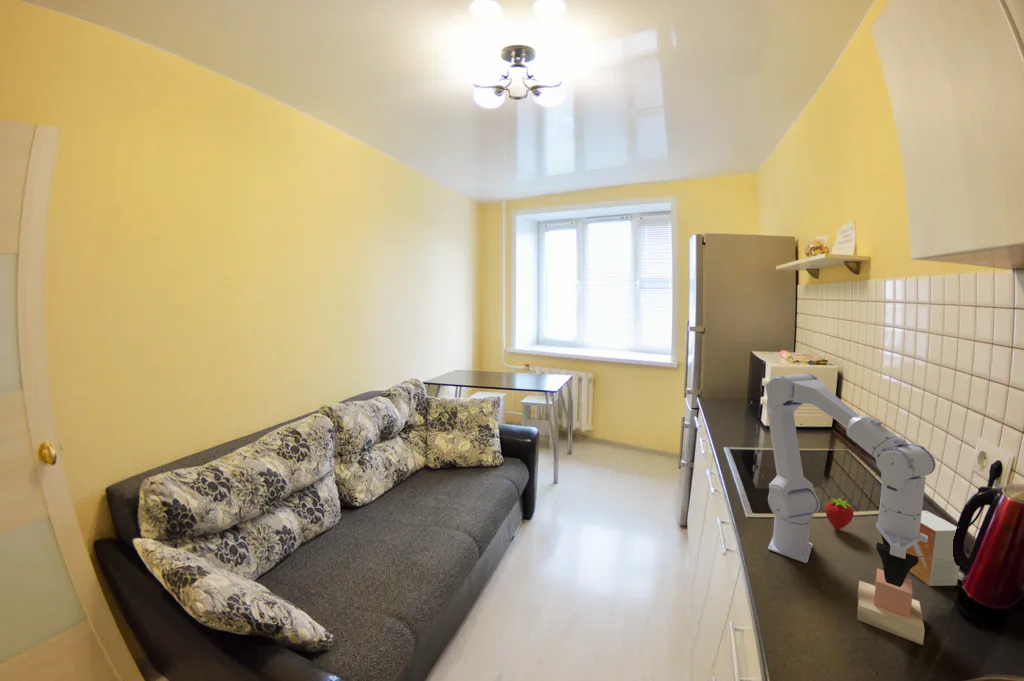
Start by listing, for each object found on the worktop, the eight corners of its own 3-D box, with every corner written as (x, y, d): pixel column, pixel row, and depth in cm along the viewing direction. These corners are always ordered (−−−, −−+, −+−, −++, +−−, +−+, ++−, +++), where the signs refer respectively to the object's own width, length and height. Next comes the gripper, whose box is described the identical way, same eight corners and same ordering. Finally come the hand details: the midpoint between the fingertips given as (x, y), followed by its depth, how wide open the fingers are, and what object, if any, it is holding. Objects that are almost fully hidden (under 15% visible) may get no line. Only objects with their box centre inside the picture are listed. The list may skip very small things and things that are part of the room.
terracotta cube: (874, 590, 82) (877, 568, 81) (908, 603, 79) (911, 580, 78) (873, 604, 78) (876, 581, 78) (909, 618, 75) (912, 594, 74)
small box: (893, 561, 95) (899, 510, 93) (920, 561, 95) (926, 509, 93) (928, 586, 87) (935, 530, 85) (958, 586, 87) (965, 530, 85)
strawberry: (853, 528, 108) (856, 493, 107) (849, 541, 103) (853, 504, 102) (826, 520, 112) (829, 486, 111) (821, 531, 107) (824, 496, 106)
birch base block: (857, 595, 85) (859, 580, 85) (917, 617, 80) (919, 601, 79) (857, 621, 79) (859, 605, 78) (922, 647, 73) (924, 630, 72)
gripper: (933, 532, 68) (924, 605, 70) (927, 499, 79) (920, 563, 80) (877, 517, 73) (870, 585, 75) (879, 488, 84) (873, 548, 85)
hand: (893, 573), depth 78 cm, fingers open, 7 cm apart
